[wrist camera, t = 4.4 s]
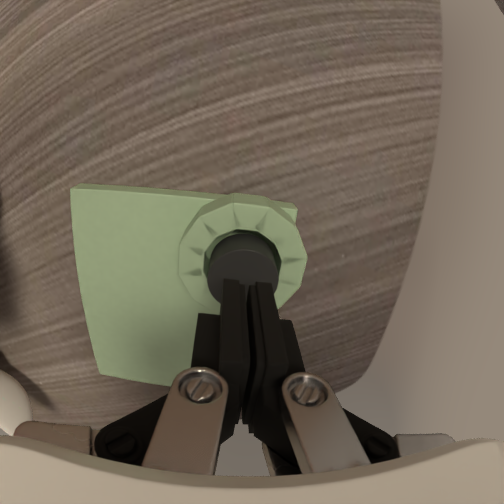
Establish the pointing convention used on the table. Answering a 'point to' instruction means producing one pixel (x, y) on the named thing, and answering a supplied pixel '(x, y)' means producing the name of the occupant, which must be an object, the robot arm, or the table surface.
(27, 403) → the decorative item
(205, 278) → the scale
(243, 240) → the button
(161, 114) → the table surface
